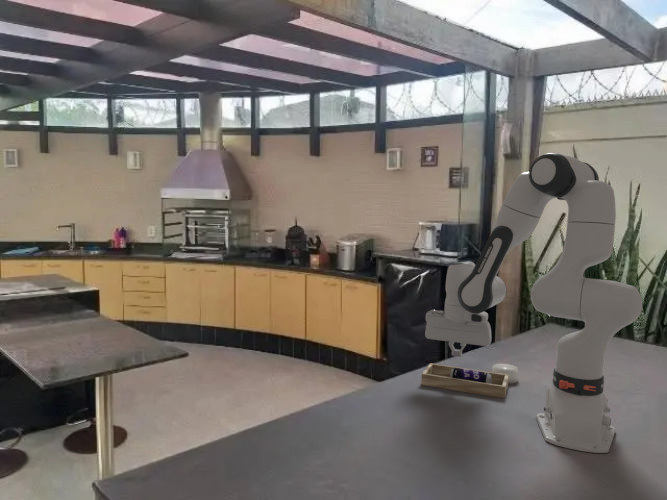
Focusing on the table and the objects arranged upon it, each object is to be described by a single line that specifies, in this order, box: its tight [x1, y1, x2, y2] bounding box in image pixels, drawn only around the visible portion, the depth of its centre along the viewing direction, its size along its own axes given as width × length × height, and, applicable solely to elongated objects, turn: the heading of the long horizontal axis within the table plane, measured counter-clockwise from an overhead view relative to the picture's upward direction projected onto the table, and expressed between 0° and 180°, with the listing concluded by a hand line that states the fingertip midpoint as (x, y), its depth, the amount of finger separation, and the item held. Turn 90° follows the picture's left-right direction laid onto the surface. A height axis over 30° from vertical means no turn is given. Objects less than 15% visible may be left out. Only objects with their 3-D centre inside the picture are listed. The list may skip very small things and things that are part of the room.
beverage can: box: [450, 367, 492, 384], centre depth 162 cm, size 6×6×12 cm
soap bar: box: [492, 363, 519, 384], centre depth 171 cm, size 8×8×4 cm
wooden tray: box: [420, 362, 509, 399], centre depth 165 cm, size 12×25×4 cm, turn 67°
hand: (456, 355), depth 165 cm, fingers closed
